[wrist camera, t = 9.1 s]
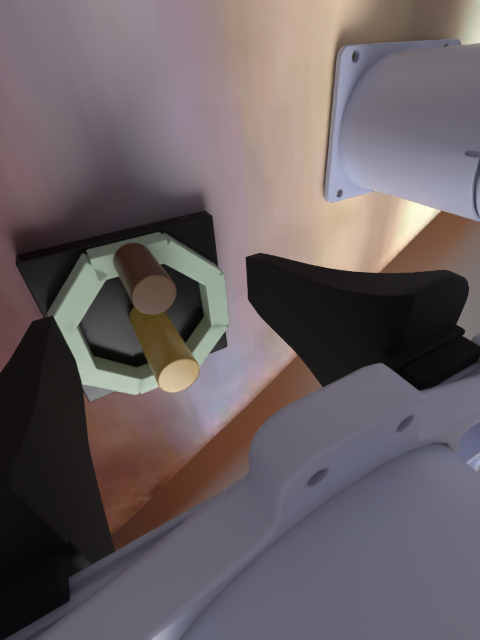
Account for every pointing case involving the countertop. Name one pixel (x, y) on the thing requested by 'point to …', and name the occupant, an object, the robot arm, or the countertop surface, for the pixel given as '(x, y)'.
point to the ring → (138, 302)
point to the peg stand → (118, 310)
